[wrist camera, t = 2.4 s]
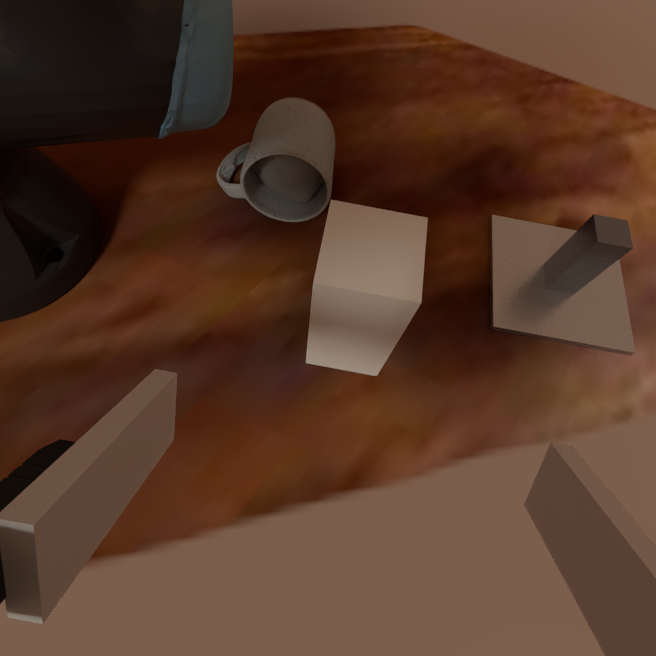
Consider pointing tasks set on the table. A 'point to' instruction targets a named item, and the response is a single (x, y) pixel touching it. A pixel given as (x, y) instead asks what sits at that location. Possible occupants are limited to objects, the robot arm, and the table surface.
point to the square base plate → (561, 282)
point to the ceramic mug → (285, 162)
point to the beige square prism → (365, 286)
